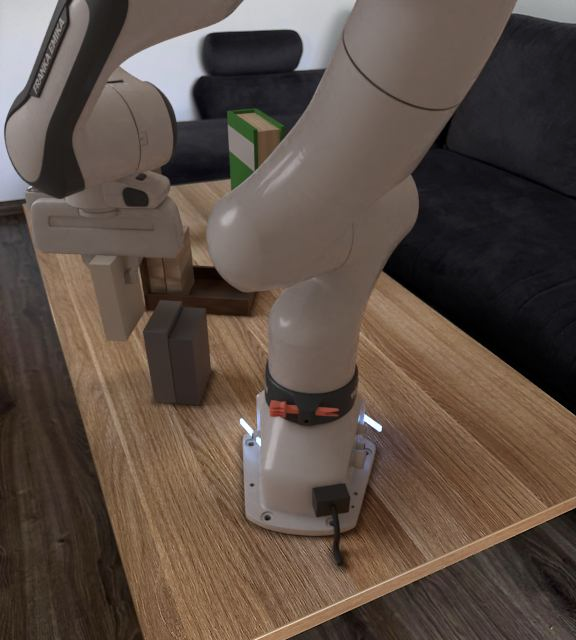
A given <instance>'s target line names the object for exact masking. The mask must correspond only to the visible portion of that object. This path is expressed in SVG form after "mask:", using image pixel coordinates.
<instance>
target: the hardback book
mask: <svg viewBox="0 0 576 640" xmlns="http://www.w3.org/2000/svg"><path fill="white" fill-rule="evenodd" d="M226 118H227V136H228V152H229V153H228V156H229V157H228V158H229V177H230V192H231V191H232V190H234V189H235V188H236V187H238V186H239V185H240V184H241V183H243V182H244V181H245V180H246V179H247V178H249V177H250V176H251V175H252V174H253V173H254V172H255V171H256V170H257V169H258V168H259V167H260V166H261V165H262V163H263V162H264V161H265V160H266V159H267V158H268V157H269V156H270V154H271V153H272V152H273V151H274V150H275V149H276V147H277V146H278V145H279V144H280V143H281V141H282V140H283V139H284V138H285V137H286V126H285V125H284V124H282V123H281V122H279V121H277V120H276V119H274V118H273V117H271V116H269V115H268V114H267V113H264V112H263V111H261V110H260V109H259V108H257V107H256V108H244V109H235V110H227V112H226Z"/></svg>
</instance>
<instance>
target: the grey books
mask: <svg viewBox="0 0 576 640" xmlns="http://www.w3.org/2000/svg"><path fill="white" fill-rule="evenodd" d="M142 335H143V341H144V348H145V353H146V359H147V366H148V371H149V377H150V383H151V390H152V395H153V401H154V403H161V404H162V403H163V404H177V405H188V406H189V405H190V406H200V405H201V402H202V399H203V396H204V393H205V391H206V387H207V385H208V382H209V379H210V376H211V373H212V361H211V352H210V341H209V340H210V339H209V329H208V318H207V314H206V308H190V307H183V305H182V301H166V300H160V301H159V303H158V305H157V307H156V308H155V310H153V312H152V314H151V315H150V317H149V319H148V321H147V323H146V324H145V326H144V328H143V330H142Z"/></svg>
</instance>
